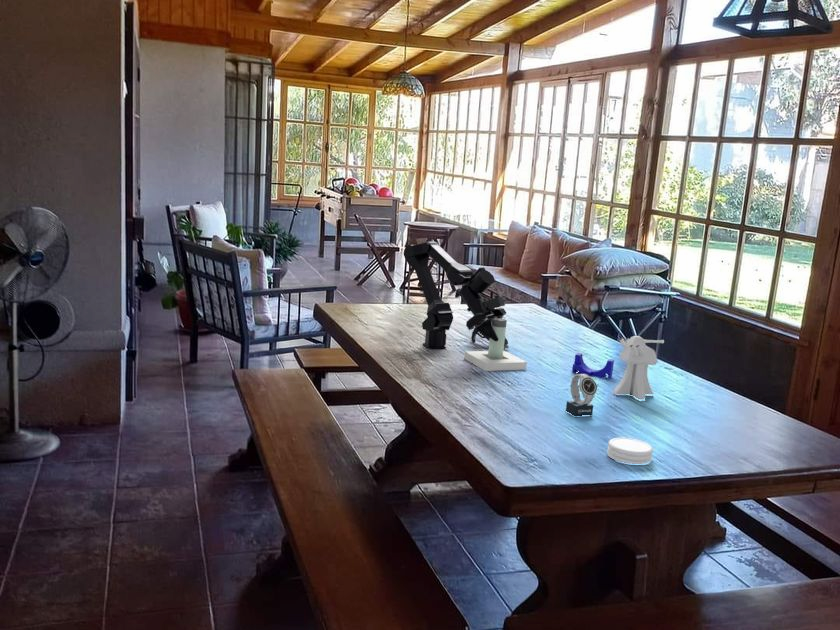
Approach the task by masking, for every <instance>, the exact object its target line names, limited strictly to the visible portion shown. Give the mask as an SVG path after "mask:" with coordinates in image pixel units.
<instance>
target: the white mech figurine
mask: <svg viewBox="0 0 840 630" xmlns="http://www.w3.org/2000/svg"><path fill="white" fill-rule="evenodd" d="M618 341H619V342H620V344H621V345H622V346H623V349H622V350H621V352H620V354H619V358H620V359H621V360H623V361H624V362H626V366H625V367H626V368H625V372H624V374H623V376H622V377H621V380H620V381H619V383H618V384H617V386H616V387H615V388H614V389H613V390H612V394H613V393H614V394H630V395H633V396H635V397H636V398H638V399H644V398H646V399H647V397H645V394H655V393H654V392H653V390H652V388H651V385H650V382H649V377H648V368H649V366H656V365H657V364H658V362H659V361H658V359H657V358H658V357H657V353H656V351H655V350H654V349H653V348H651V347H649V346H647V344H648V343H649V344H651V343H653V344H655V343H656V344H664V343H665V340H664V339H657V340H655V339H654V340H653V339H644V338H643V337H641V336H639V335H633V336H630V338H629V337H627V338H625V339H624V337H620V338H619V340H618ZM614 394H613V395H614Z"/></svg>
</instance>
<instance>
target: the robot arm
mask: <svg viewBox="0 0 840 630" xmlns="http://www.w3.org/2000/svg"><path fill="white" fill-rule="evenodd" d="M403 257H404V259H405V261H406V262H407V264H408V266H410V267H411V268H412V269H413V270H414V272H415V274H416V276H417V280H418V282H419V284H420V287H421V290H422V293H423V295H424V298H425V301H426V304H427V309H426V319H424V320H423V321H422V323H421V325H422V326H421V327H422V330H425V335H424V336H425V337H424V342H423V343H422V345H423V346H425V347H426V348H427V349H434V350H436V349H437V350H439V349H441V350H442V349H447V346H446V345H447V344H446V343H447V333H446V332H447V331H449V330H450V328H451V326H452V323H453V321H454V314H453V313H454V311H453V310H452V307H451V304H450V302H444V301H443V300H442V299H441V296H440V293H439V291H438V288H437V285H436V283H435V280H434V277H433V274H432V273H431V270H430V267H429V260H430V258H431V259H432V260H433V261H434V262H435V263H437V264H438V266H439V267H441V268H442V269H443V271H445V273H446V278H447V279H448V281H449V282H450V283H451V285H453V286H455V287H457V286H462V287H459V288H456V290H455V295H454V297H455V299H457V298H460V297H461V298H462V300H463V302H464V303H465V304H466V306H467V308H466V310H467V312H469V313H470V312H471V313H472V317H470V318H469V319H468V320H467V321H466V325H465V326H466V327H467V329H468V330H469V331H473V330H474V328H475V325H477V328H476V329H475V330H476V331H479V332H480V333H482V334H484V335H486V336H487V337H489V338H491V339H492V340H494V341H496V342H497V341H498V340H499V339H498V337H497V335H496V333H495V331H494V329H493V328H492V326H491V321H492V318H501V319H504V316H505V315H507V312H506V310H505V309H504V308H503V307H504V306H506V303H505V302H506V298H505V296H503V295H502V294H501V293H499V294H497V295H494V298H491V299H488V298H487V297H483V296H482V294H484V293H485V292H486V291H487V290H489V288H490V287H491V286H492V285H494V283H495V280H496V279H495V275H493V274H492V273H491V272H490V271H489V270H487V269H486V268H485V267H484V266H483V267H479V268H478V269H477V270H476V272H474V271H473V270H472V269H471V268H470V267H468V266H466V265H464V264H462V263H458V262H457V261H456V260H455V259H453V257H452V256H451V255H449V254H448V252H446V251H445V249H443V248H442V247H441V246H440V244H439V243H438V242H436V241H425V242H423V243H418V244H408V245H406V246H405V248H404V250H403ZM479 332H478V333H479ZM480 333H479V334H480ZM482 334H481V335H482ZM505 338H506V336H505ZM506 339H507V338H506Z"/></svg>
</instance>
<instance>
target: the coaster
mask: <svg viewBox="0 0 840 630" xmlns="http://www.w3.org/2000/svg"><path fill="white" fill-rule="evenodd" d="M653 449H654V448H653V447H652V446H651V445H650V444H649V443H648V442H645V441H643V440H640V439H635V438H630V437H615V438H614V437H613V438H611V439H610V440H608V445H607V452H606V455H607V454H608V455H607V457H608V456H609V457H611V458H612V459H615V460H617V461H620V462H624V463H632V464H642V463H647V462H650V461H651V458H653V452H654V450H653ZM609 457H608V458H609ZM612 459H611V460H612ZM651 462H652V461H651Z"/></svg>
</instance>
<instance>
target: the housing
mask: <svg viewBox="0 0 840 630" xmlns="http://www.w3.org/2000/svg"><path fill="white" fill-rule="evenodd" d="M463 359H464V360H465V361H467V362H469V363H471V364H472V363H473V365H474V366H476V367H478V368H479V369H481V370H483V371H485V372H488V371H489V372H490V371H491V372H492V371H494V372H495V371H516V370H517V371H521V370H522V371H523V370H524V371H525V370H526V371H527V364H528V362H527V361H526V360H524V359H522V358H519V357H517V356H516V355H514V354H512V353H509V352H508V351H506V350H504V351H503V359H495V360H491V359H489V358H488V350H475V351H474V350H473V351H472V350H471V351H468V350H467V351H464V357H463Z"/></svg>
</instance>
